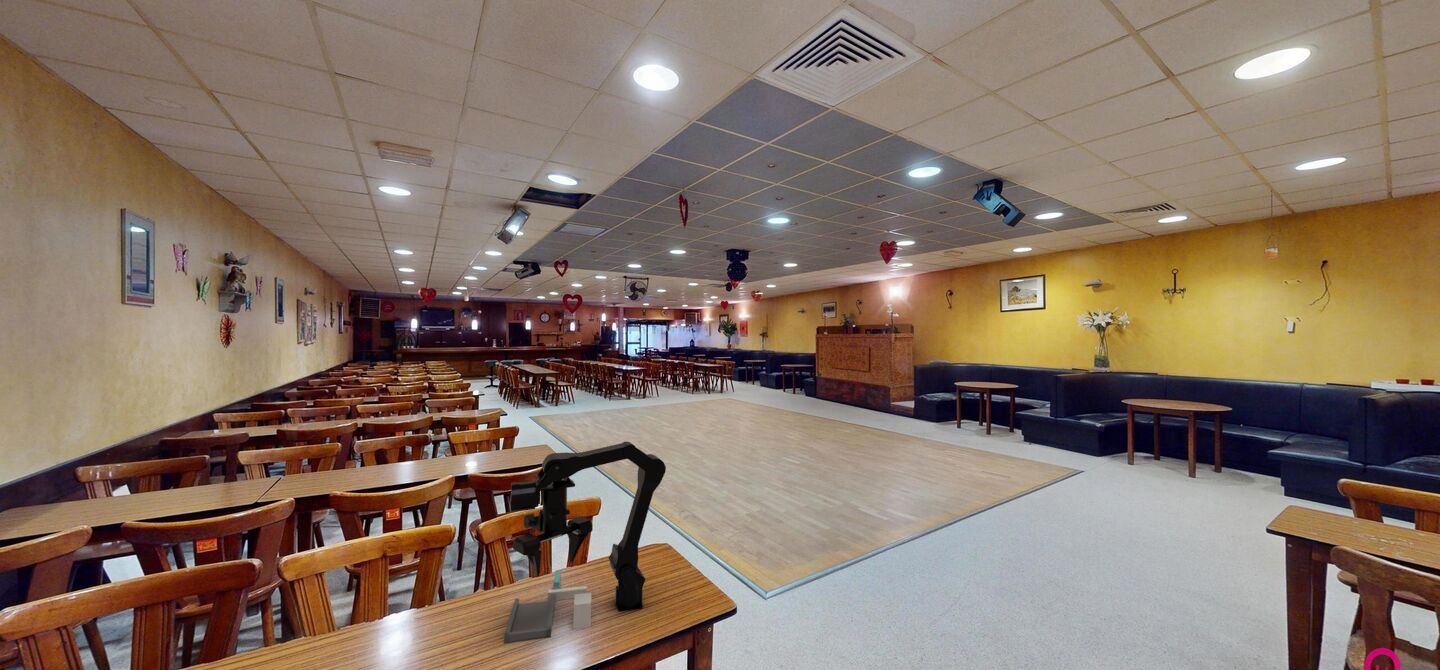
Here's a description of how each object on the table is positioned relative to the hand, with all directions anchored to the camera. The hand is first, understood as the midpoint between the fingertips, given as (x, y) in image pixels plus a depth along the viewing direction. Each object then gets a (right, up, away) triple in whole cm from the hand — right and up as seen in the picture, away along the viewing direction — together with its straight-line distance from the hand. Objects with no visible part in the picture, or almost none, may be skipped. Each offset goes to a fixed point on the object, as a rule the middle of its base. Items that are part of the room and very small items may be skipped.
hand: (554, 569), depth 116 cm
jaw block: (+7, -13, -1) cm, 15 cm away
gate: (-1, -13, +13) cm, 18 cm away
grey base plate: (-5, -12, -1) cm, 13 cm away
